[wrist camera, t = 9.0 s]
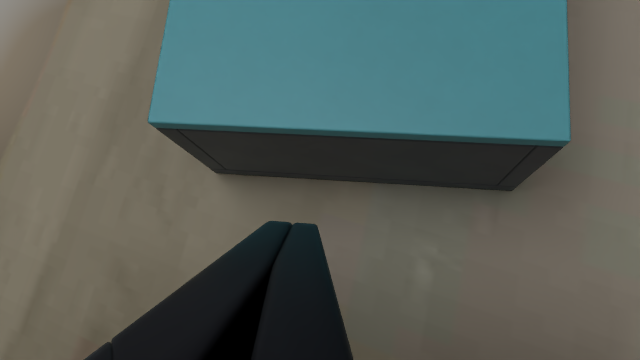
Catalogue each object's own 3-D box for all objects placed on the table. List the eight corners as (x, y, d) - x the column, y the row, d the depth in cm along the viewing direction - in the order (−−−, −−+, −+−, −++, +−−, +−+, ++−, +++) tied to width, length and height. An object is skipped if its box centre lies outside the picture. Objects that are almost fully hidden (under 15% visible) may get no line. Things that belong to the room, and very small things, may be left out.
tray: (250, -70, 26) (210, -180, 20) (513, -74, 24) (556, -199, 18) (215, 173, 23) (155, 128, 17) (512, 190, 21) (563, 147, 15)
